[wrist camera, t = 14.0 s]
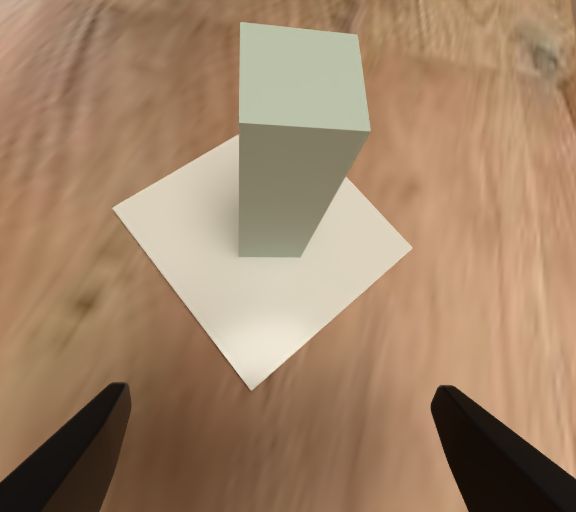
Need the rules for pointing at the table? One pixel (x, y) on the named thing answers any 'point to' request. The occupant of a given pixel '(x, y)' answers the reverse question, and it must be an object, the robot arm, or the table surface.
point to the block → (295, 132)
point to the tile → (256, 261)
